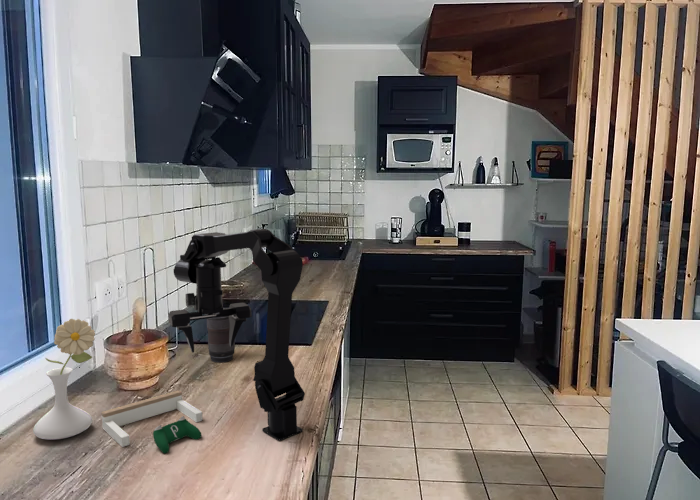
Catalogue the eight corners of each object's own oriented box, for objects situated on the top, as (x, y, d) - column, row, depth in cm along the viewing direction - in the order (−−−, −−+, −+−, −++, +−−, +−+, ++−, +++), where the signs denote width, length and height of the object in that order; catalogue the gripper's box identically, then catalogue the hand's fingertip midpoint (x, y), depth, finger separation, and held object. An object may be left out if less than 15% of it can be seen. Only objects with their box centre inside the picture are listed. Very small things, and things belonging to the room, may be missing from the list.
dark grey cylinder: (221, 353, 171) (219, 306, 169) (240, 357, 167) (239, 309, 165) (202, 360, 164) (200, 312, 162) (222, 365, 160) (220, 315, 158)
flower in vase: (30, 449, 110) (20, 330, 107) (37, 426, 120) (28, 316, 117) (100, 437, 115) (93, 323, 112) (101, 416, 125) (94, 310, 122)
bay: (202, 420, 123) (201, 404, 123) (122, 446, 111) (121, 429, 110) (179, 405, 131) (178, 390, 131) (102, 428, 119) (101, 411, 119)
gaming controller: (197, 443, 116) (184, 419, 119) (204, 435, 114) (191, 410, 117) (158, 460, 109) (145, 434, 111) (165, 452, 107) (152, 425, 109)
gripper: (237, 277, 140) (240, 335, 142) (162, 284, 131) (166, 346, 133) (251, 283, 130) (253, 346, 132) (170, 291, 122) (174, 359, 124)
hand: (212, 349), depth 131 cm, fingers open, 9 cm apart
